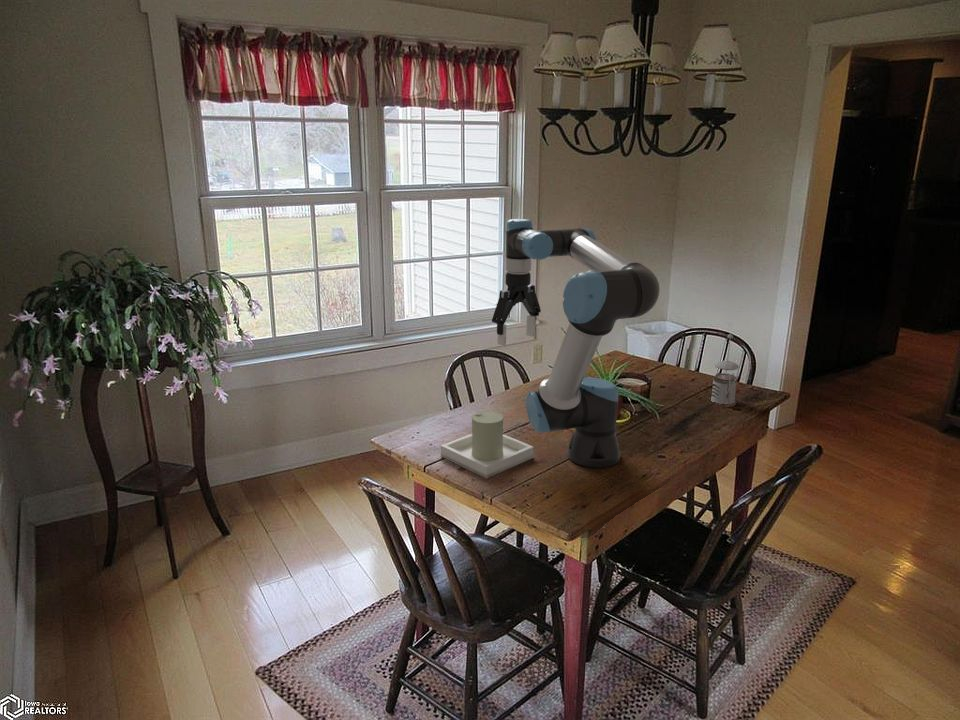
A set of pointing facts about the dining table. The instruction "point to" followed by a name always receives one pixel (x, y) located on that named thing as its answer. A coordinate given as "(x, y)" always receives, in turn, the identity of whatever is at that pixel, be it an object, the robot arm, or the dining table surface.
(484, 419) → the can
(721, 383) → the french press
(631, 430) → the dining table surface
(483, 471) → the tray
